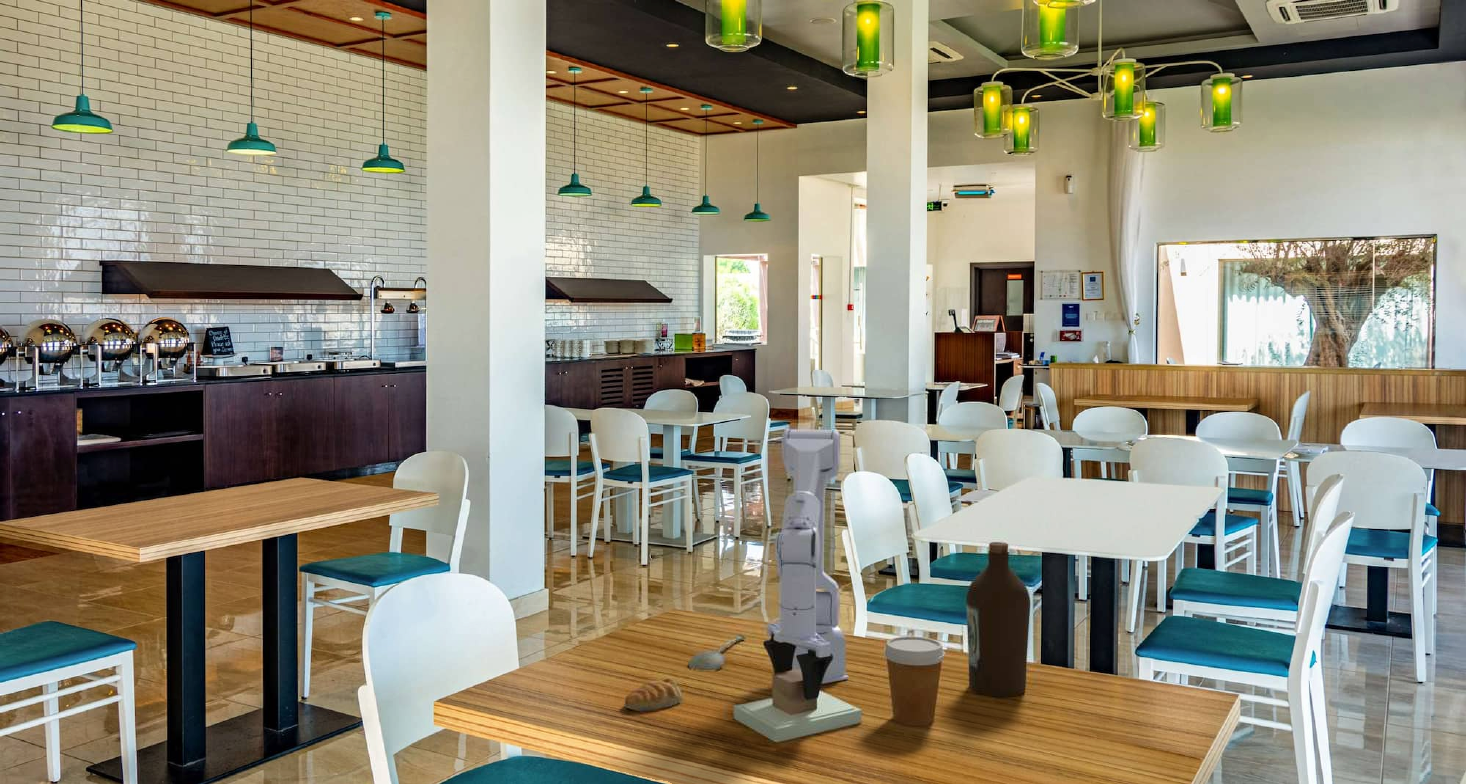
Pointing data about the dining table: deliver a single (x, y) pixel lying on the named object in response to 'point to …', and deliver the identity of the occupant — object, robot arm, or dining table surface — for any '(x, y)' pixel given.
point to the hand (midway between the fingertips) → (797, 691)
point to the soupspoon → (711, 657)
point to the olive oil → (997, 627)
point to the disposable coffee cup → (914, 678)
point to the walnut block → (790, 693)
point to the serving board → (797, 718)
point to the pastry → (654, 695)
